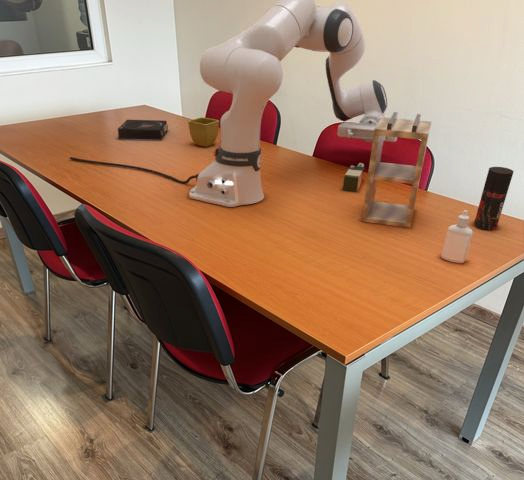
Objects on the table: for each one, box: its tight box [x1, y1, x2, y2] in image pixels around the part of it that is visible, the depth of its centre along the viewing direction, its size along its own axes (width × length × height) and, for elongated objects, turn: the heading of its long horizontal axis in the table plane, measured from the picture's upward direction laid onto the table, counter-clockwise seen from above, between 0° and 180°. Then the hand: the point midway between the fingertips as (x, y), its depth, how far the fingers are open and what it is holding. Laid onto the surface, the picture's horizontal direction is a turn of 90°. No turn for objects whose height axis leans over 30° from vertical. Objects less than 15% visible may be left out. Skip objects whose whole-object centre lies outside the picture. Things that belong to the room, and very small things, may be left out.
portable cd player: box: [117, 119, 169, 142], centre depth 211 cm, size 16×17×4 cm
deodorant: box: [473, 166, 514, 231], centre depth 136 cm, size 6×6×15 cm
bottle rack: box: [361, 111, 432, 229], centre depth 138 cm, size 13×14×26 cm
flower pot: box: [187, 116, 220, 148], centre depth 199 cm, size 9×9×9 cm
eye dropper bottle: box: [440, 209, 474, 264], centre depth 119 cm, size 4×6×12 cm
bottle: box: [342, 162, 365, 193], centre depth 168 cm, size 20×4×4 cm, turn 162°
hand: (364, 137), depth 169 cm, fingers open, 8 cm apart
